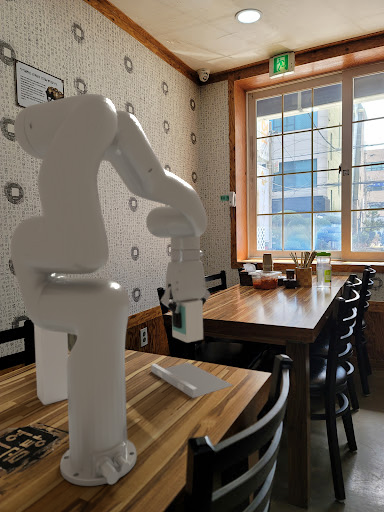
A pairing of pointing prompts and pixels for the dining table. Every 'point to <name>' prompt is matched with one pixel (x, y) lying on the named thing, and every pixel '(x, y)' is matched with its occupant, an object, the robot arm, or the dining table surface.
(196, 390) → the shelf board
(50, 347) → the milk
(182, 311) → the carton
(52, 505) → the dining table surface
